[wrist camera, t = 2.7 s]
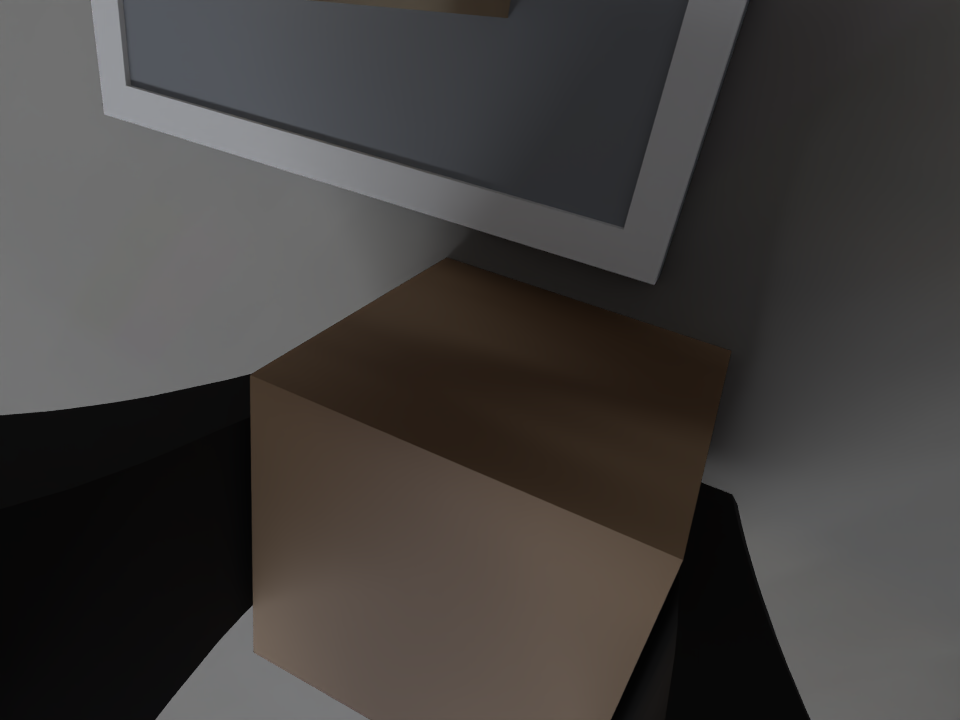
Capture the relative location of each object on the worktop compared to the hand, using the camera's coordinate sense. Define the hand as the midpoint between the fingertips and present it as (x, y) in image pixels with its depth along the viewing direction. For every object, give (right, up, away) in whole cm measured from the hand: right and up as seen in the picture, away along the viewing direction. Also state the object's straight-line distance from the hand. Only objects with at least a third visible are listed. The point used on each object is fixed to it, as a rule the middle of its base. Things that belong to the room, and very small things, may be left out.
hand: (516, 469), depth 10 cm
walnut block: (+1, +1, +1) cm, 2 cm away
